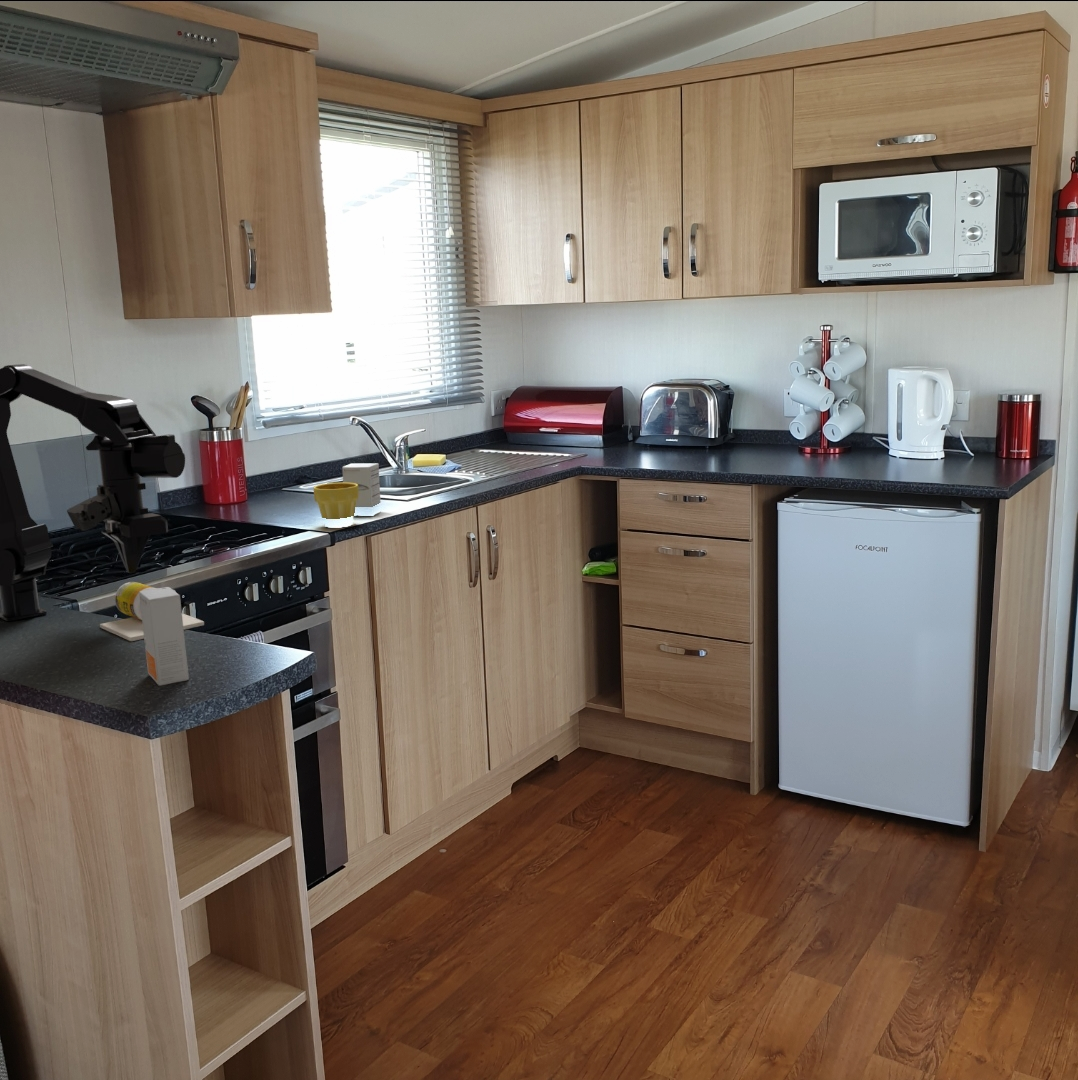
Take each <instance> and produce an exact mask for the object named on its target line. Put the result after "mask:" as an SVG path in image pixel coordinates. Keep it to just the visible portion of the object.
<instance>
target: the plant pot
mask: <svg viewBox="0 0 1078 1080" xmlns="http://www.w3.org/2000/svg"><path fill="white" fill-rule="evenodd" d="M313 498H314V502H315V503H317V505H318V508H319V509H318V510H319V512H320V516H321V519H322V518H326V519H340V518H347V517H351V516H354V513H355V506H356V500H357V499H358V498H359V489H358V484H356V483H346V482H343V481H342V482H328V483H322V484H317V485H315V486H314V487H313ZM354 517H355V516H354Z"/></svg>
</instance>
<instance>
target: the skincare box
mask: <svg viewBox="0 0 1078 1080" xmlns="http://www.w3.org/2000/svg"><path fill="white" fill-rule="evenodd" d="M139 596H140V606H141V614H142V623H143V632H144V641H143V642H144V647H145V658H146V665H147V674H148V675H149V677H151V678H152V679H153V681H154V682H155V683H156V684H157V686H164V685H165V686H166V685H169V684H174V683H180V682H185V681H189V679H190V677H189V676H190V675H189V667H188V658H187V651H186V640H185V638H186V637H185V631H184V630H185V629H183V619H182V613H183V612H182V604H181V603H182V602H181V594H179V593H177V592H176V590H175V589H173V588H171V587H170V586H165V587H158V588H157V589H150V590H144V591H139Z"/></svg>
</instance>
